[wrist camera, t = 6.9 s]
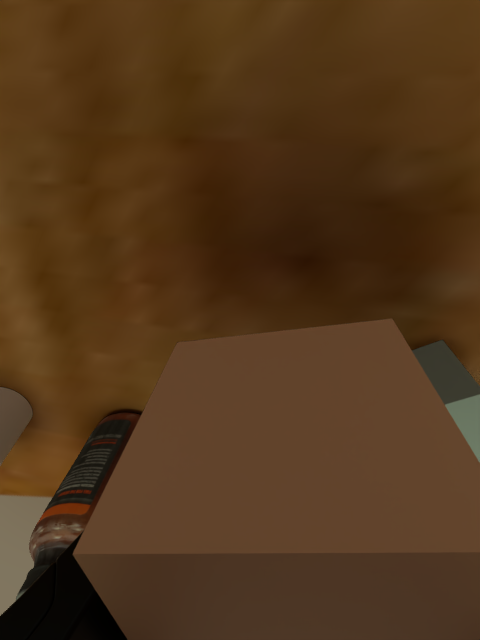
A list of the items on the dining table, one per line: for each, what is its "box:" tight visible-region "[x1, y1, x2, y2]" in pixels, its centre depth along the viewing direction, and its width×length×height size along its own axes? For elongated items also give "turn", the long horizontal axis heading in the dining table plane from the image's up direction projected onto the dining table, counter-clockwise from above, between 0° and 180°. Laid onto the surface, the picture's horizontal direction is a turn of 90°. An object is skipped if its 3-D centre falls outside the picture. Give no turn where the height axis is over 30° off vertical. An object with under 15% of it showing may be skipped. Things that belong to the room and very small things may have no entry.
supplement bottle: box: [16, 413, 141, 600], centre depth 22 cm, size 6×6×11 cm
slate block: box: [412, 340, 480, 462], centre depth 21 cm, size 5×5×5 cm
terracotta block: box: [73, 319, 480, 640], centre depth 7 cm, size 5×5×5 cm
